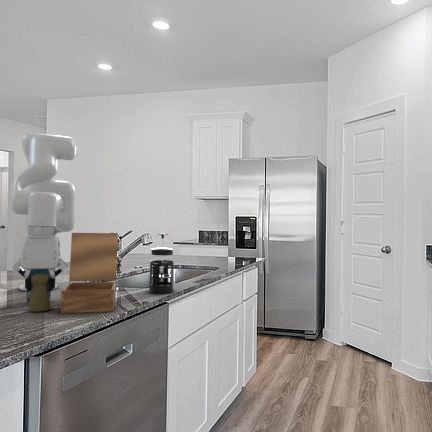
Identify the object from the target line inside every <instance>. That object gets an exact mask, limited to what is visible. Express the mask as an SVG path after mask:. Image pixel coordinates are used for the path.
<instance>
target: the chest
mask: <svg viewBox="0 0 432 432" xmlns="http://www.w3.org/2000/svg"><path fill="white" fill-rule="evenodd" d="M116 296H117V281H82V282H69V283H67V285H66V286H64V288H63V289H62V290H61V293H60V314H62V315H63V314H82V313H83V314H85V313H104V312H105V313H107V312H109V313H110V312H114V309H115V306H116V301H117V300H116V299H117V297H116Z"/></svg>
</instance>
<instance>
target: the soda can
mask: <svg viewBox="0 0 432 432" xmlns="http://www.w3.org/2000/svg"><path fill="white" fill-rule="evenodd" d="M38 273H45V274H48V275H49V276H51V275H50V272H49V269H33V270H32V273H31V275H30V276H31V277H32V275H34V274H38ZM32 286H33V284H32ZM48 289H49V283H48ZM31 291H32V290H31ZM31 291H29V292H27V291H26V301H27V303H28V304H29V302H30V297H31ZM51 293H52V291H49V298H50V299H51V295H52V294H51Z"/></svg>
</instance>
